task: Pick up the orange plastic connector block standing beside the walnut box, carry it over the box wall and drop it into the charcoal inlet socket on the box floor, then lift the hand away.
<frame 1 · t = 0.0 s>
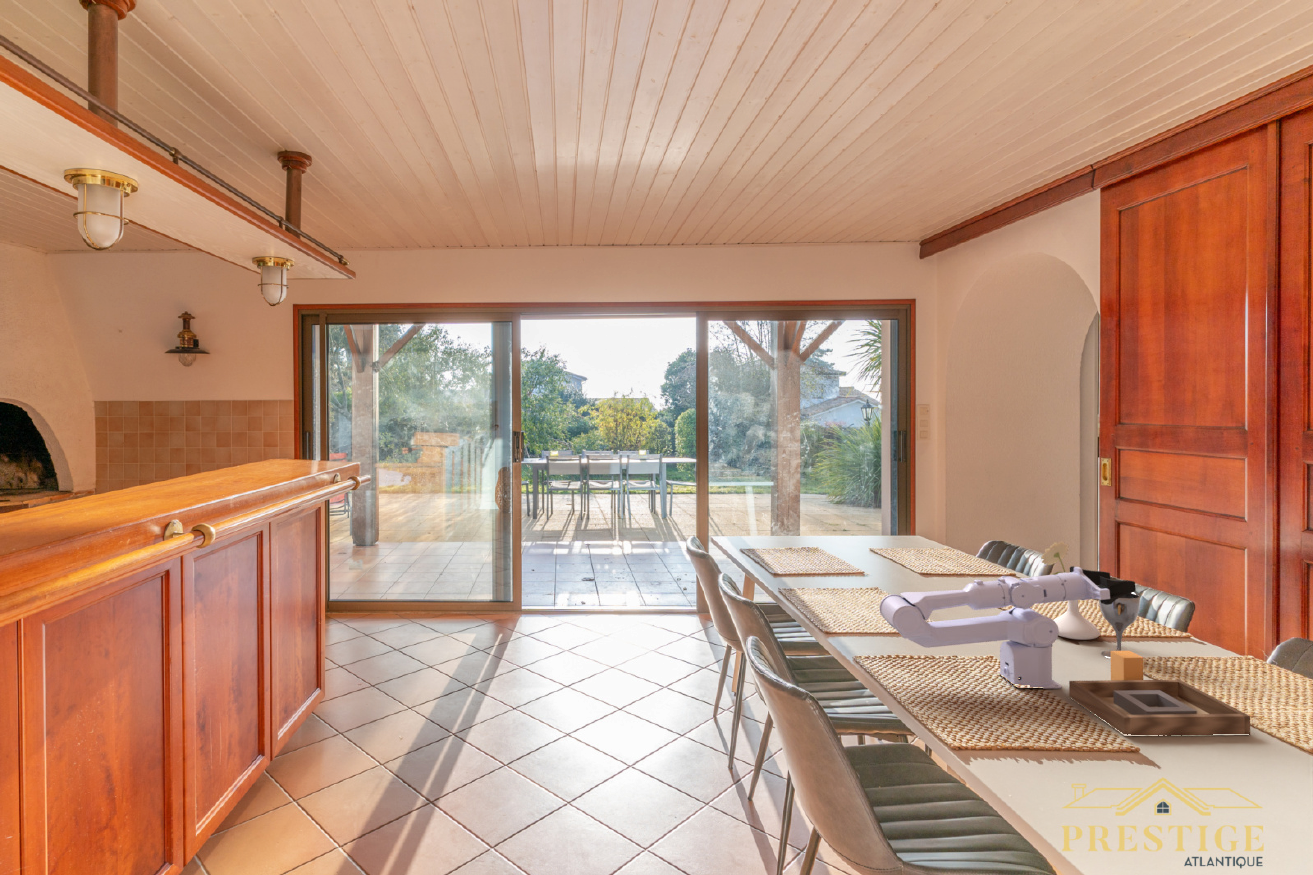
hand: (1121, 581, 137), 22 cm above the table, tool horizontal, fingers open, 7 cm apart
flower in vase: (1070, 637, 165), on the table
inlet: (1153, 706, 121), in the walled box
wine glass: (1119, 656, 151), on the table
walled box: (1153, 715, 121), on the table
connector: (1126, 686, 134), on the table
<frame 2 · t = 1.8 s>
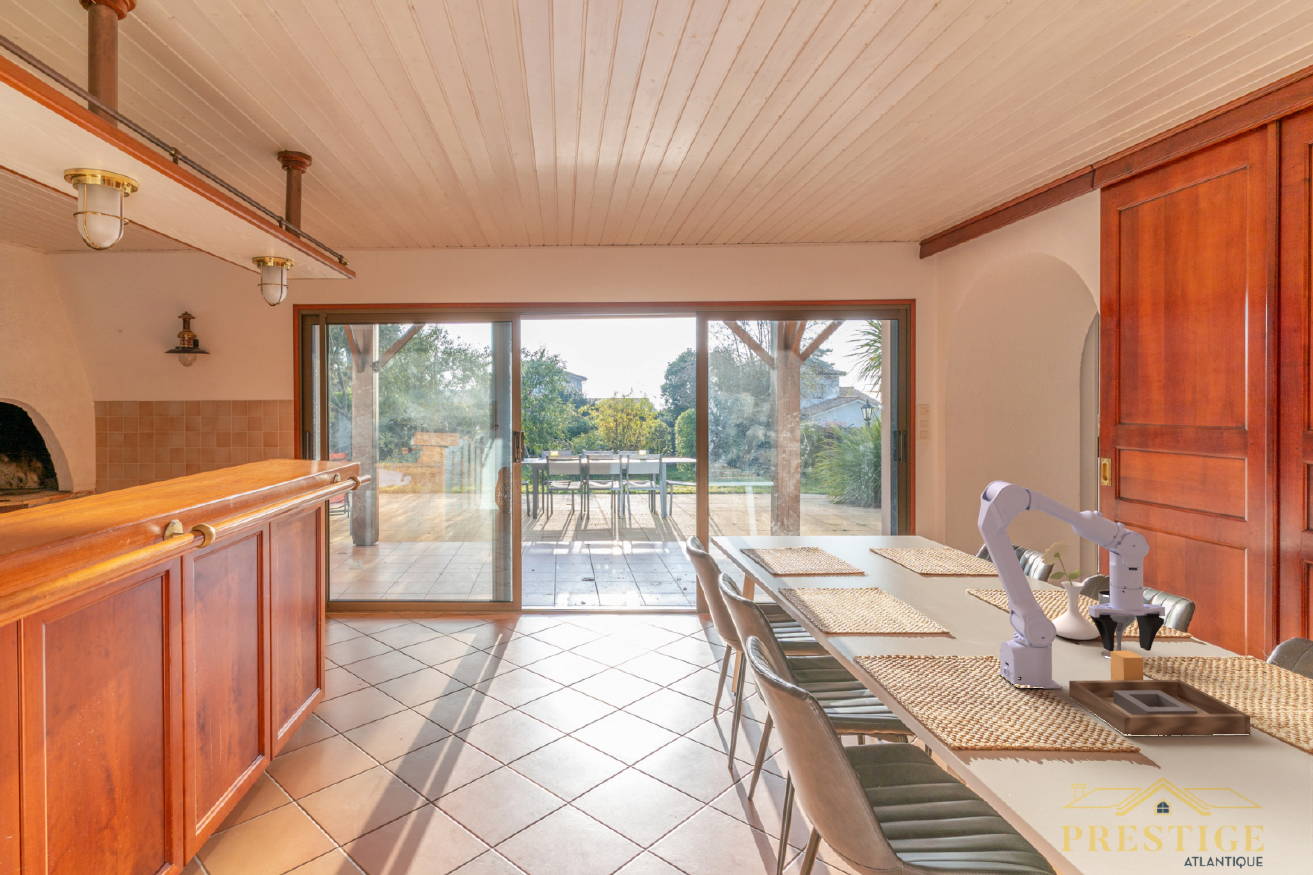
hand: (1126, 649, 134), 8 cm above the table, tool pointing down, fingers open, 7 cm apart
nothing on the table moved.
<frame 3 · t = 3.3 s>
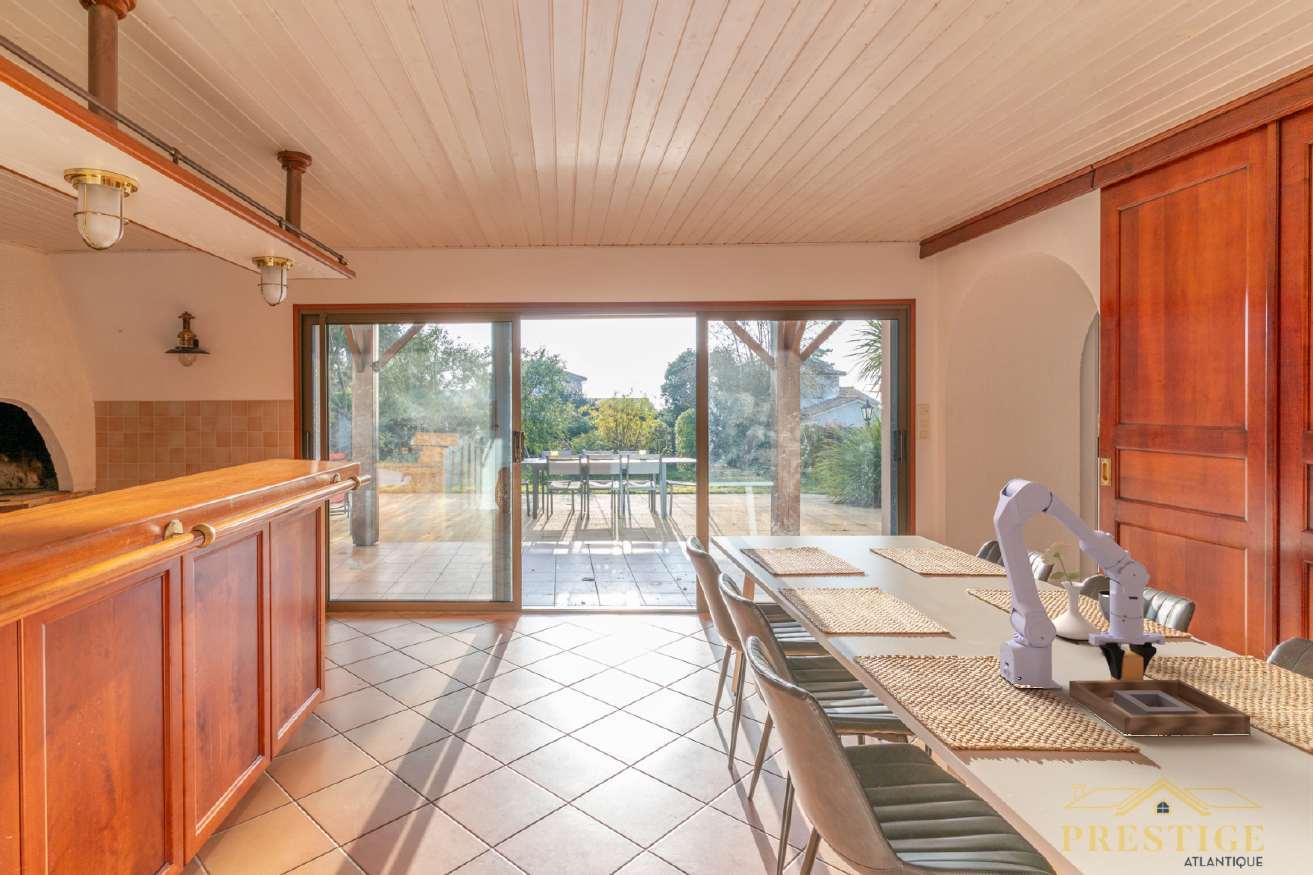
hand: (1126, 677, 134), 2 cm above the table, tool pointing down, fingers closed on connector, 4 cm apart
connector: (1126, 686, 134), on the table, touching gripper
everything else where it was.
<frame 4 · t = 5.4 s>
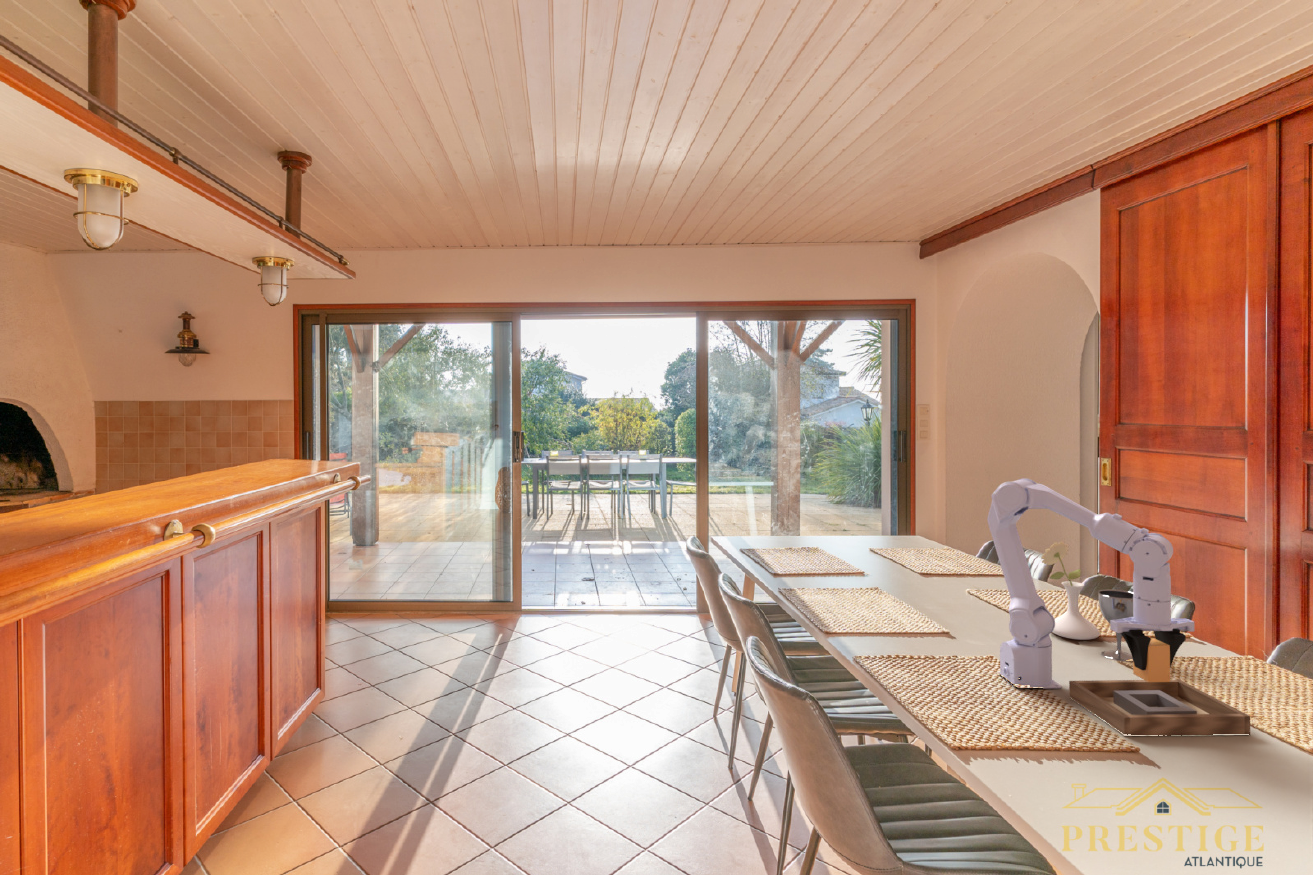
hand: (1152, 668, 122), 9 cm above the table, tool pointing down, fingers closed on connector, 4 cm apart
connector: (1151, 677, 122), point 7 cm above the table, touching gripper
everything else where it was.
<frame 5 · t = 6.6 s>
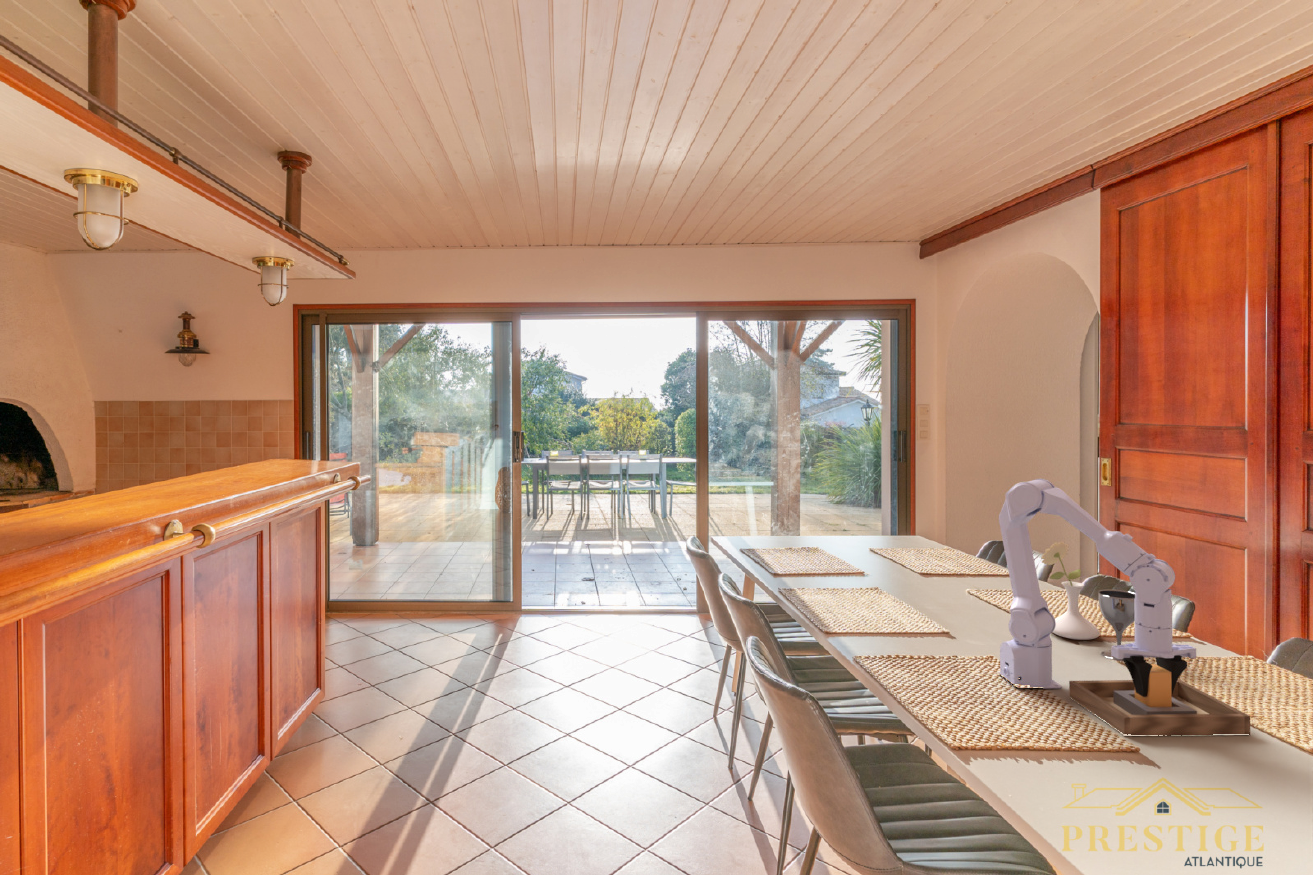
hand: (1153, 694, 121), 4 cm above the table, tool pointing down, fingers closed on connector, 4 cm apart
connector: (1152, 704, 122), point 2 cm above the table, touching gripper
everything else where it was.
when the fingers open (3 cm above the table, at t = 7.6 s): connector stays where it is, resting on walled box.
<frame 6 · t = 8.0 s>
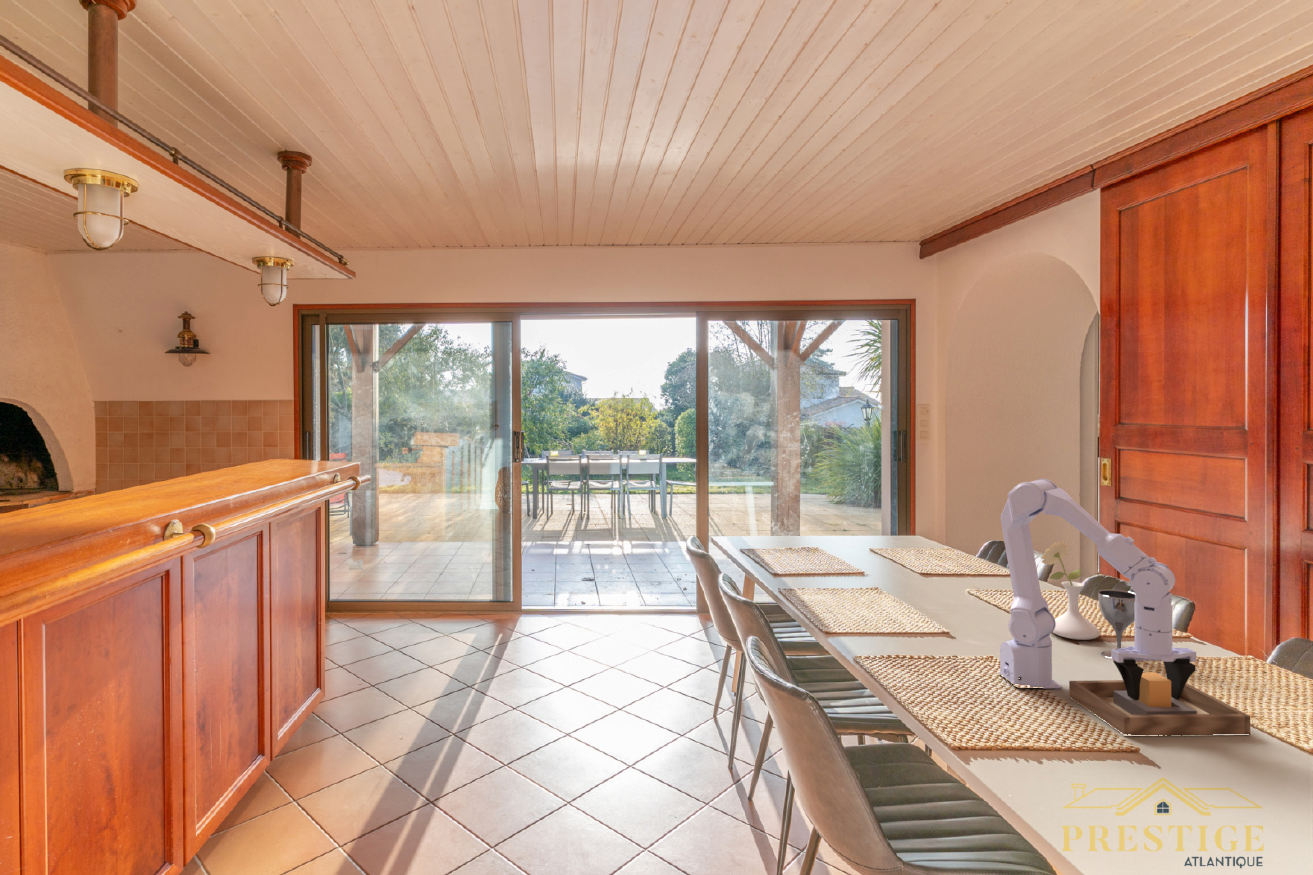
hand: (1153, 697, 121), 3 cm above the table, tool pointing down, fingers open, 7 cm apart
connector: (1152, 712, 122), resting on walled box
everything else where it was.
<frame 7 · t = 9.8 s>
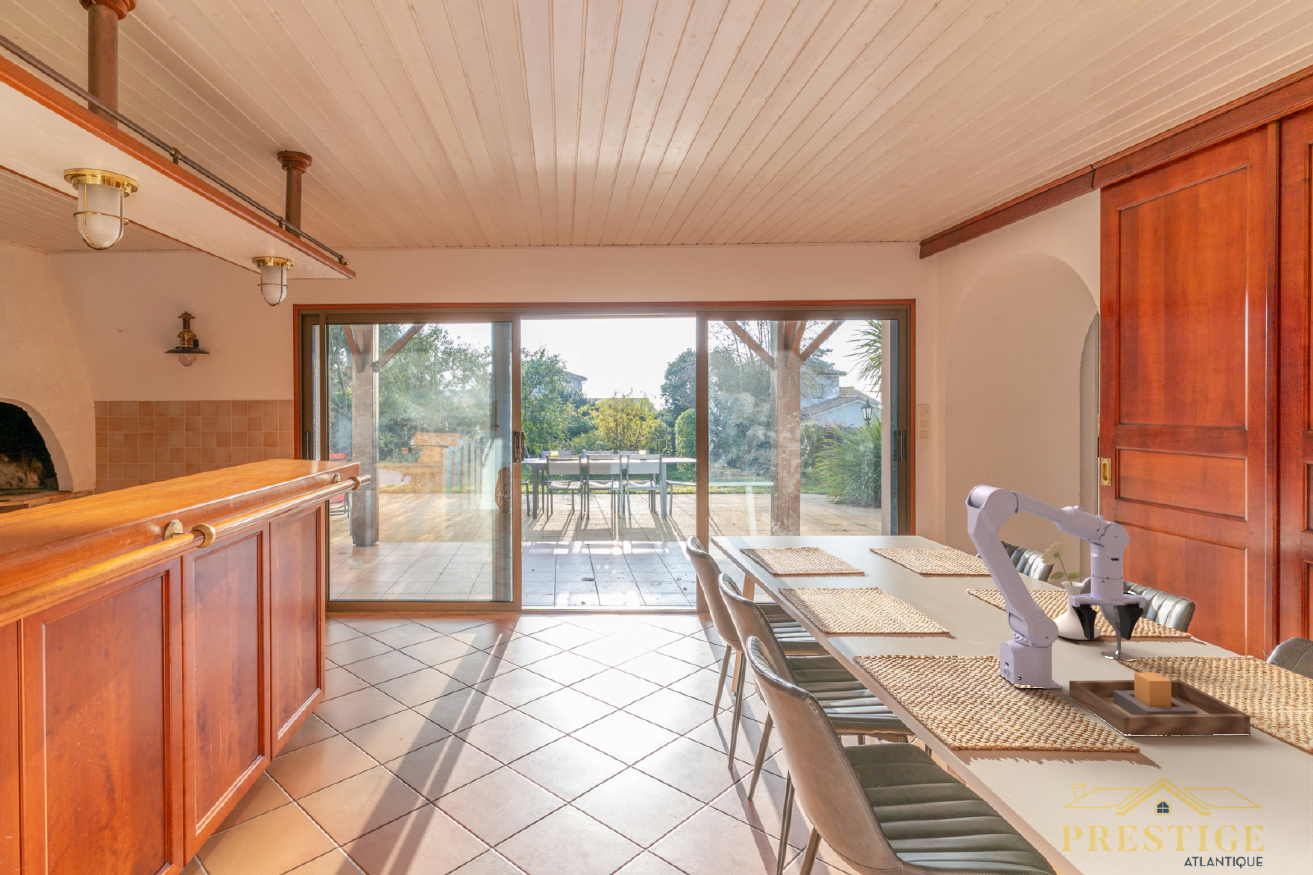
hand: (1107, 638, 137), 9 cm above the table, tool pointing down, fingers open, 7 cm apart
nothing on the table moved.
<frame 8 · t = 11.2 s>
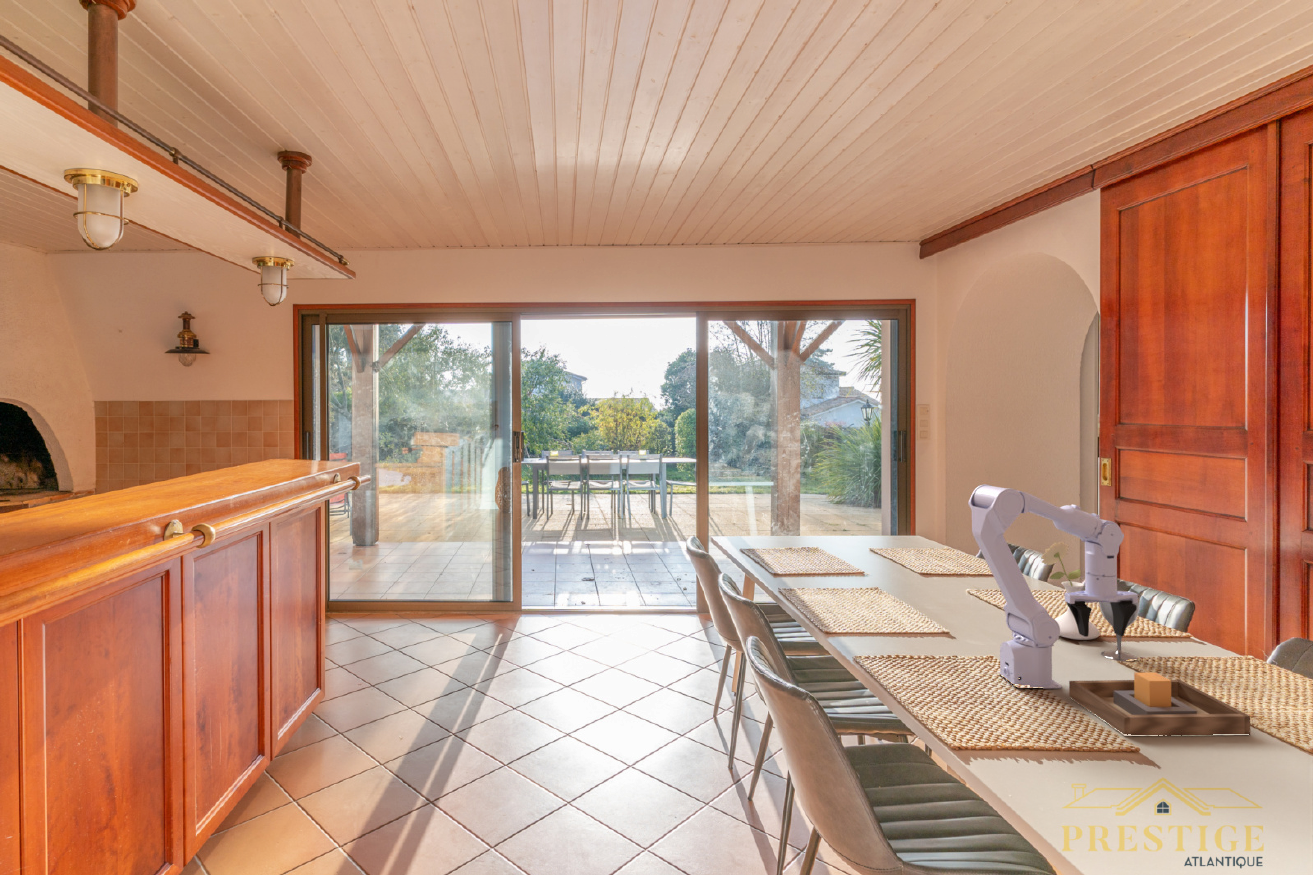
hand: (1101, 634, 139), 9 cm above the table, tool pointing down, fingers open, 7 cm apart
nothing on the table moved.
at the end: connector 0.2 cm off-centre on the inlet, point 0.4 cm above the inlet's base; connector tilted 0°; the gripper is holding nothing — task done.
